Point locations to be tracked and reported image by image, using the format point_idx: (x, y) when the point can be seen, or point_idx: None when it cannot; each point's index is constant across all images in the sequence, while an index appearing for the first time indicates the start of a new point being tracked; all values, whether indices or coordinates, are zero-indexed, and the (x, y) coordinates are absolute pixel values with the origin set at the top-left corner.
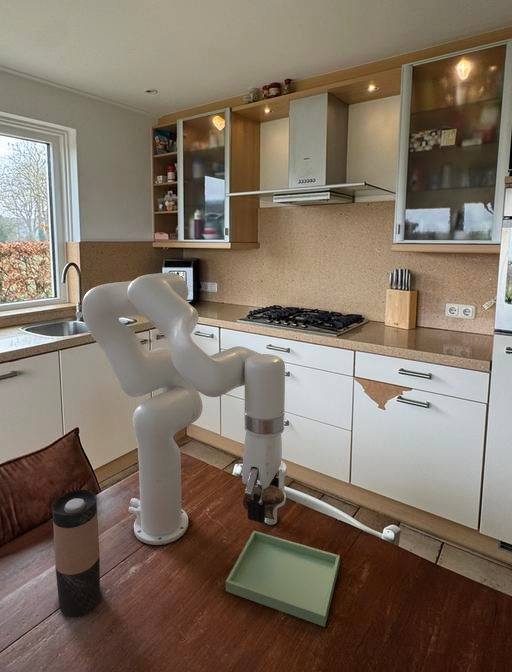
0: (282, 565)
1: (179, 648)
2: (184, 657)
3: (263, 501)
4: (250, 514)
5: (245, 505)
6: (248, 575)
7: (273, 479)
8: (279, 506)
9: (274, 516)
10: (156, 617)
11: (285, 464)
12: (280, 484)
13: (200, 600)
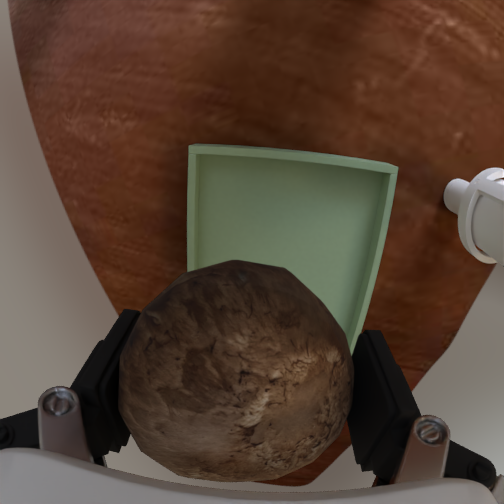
0: (310, 258)
1: (54, 121)
2: (46, 138)
3: (115, 448)
4: (95, 347)
5: (141, 312)
6: (252, 185)
7: (366, 454)
8: (465, 246)
9: (457, 213)
10: (89, 42)
11: None
12: None
13: (151, 99)
